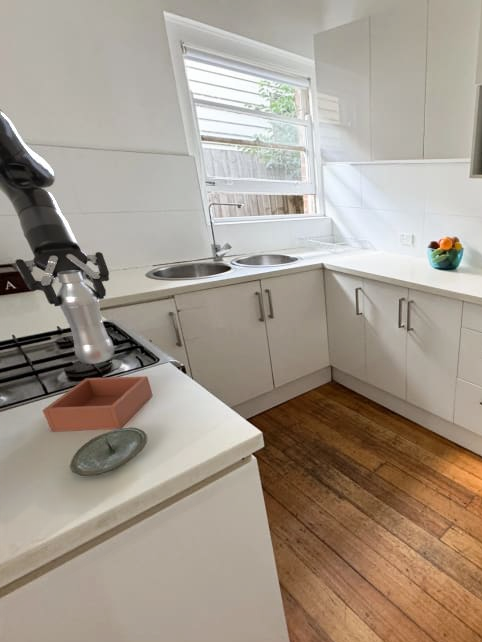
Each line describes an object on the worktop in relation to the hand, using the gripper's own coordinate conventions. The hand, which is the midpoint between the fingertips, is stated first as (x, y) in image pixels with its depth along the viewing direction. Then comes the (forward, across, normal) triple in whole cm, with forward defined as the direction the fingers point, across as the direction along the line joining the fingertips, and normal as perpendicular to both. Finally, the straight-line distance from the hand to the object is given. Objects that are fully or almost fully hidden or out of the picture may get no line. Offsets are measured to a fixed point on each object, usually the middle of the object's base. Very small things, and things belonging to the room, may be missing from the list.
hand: (80, 300), depth 78 cm
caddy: (+24, -3, +3) cm, 24 cm away
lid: (+35, -6, -8) cm, 37 cm away
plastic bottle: (+9, 0, +12) cm, 15 cm away
